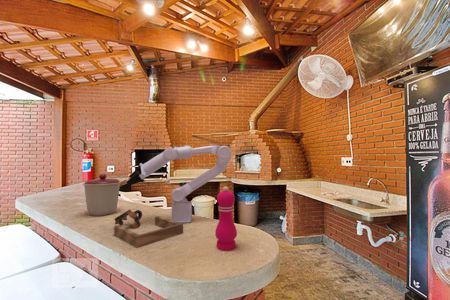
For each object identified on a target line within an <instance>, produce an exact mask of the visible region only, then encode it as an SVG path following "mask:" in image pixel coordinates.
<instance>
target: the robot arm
mask: <svg viewBox="0 0 450 300" xmlns="http://www.w3.org/2000/svg"><path fill="white" fill-rule="evenodd" d="M203 154H206V155H207V154H212V155H214V156H216V155H217V160H216V164H215V165H214V166H212V167H211V168H210V169H208V170H206V171H204V172H203V173H201V174H200V175H198V176H196V177H195V178H193V179H191V180H190V181H189V182H187V183H185V184H184V185H179V186H177V187H175V188H174V189H173V190H172V191H171V193H170V198H171V218H170V220H172V221H175V222H178V223H181V224H183V223H185V224H186V223H191V222H192V219H193V201H188V199H187V196H188V195H190V194H191V193H192V192H194V191H196V190H197V189H198V188H201V187H202V186H203V185H205V184H206V183H208V182H209V181H212V180H213V179H215V178H216V177H218V176H219V175H221V174H223V173H224V172H225V171H227V167H228V165H229V163H230V161H231V157H232V149H231V148H230V147H229V145H228V146H227V145H208V146H201V147H200V146H199V147H192V146H191V145H187V144H185V145H184V146H174V147H167V148H165V149H164V151H162V152H160V153H159V154H157V155H156V156H154V157H152V158H151V159H149V160H148V161H146V162H144V163H142V162H141V163H139V164H138V166H137V167H136V169H135V170H134V171H132V173H130V175H129V179H128V180H127V181H126V184H127V186H133V185H135V184H138V183H144V182H145V178H146V177H149V176H151V175H152V174H153V173H155V172H156V171H158V170H159V169H161V168H162V167H164V166H166V165H167V164H168V163H169V162H171V161H174V160H184V159H191V158H192V157H193V156H195V155H203Z"/></svg>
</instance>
